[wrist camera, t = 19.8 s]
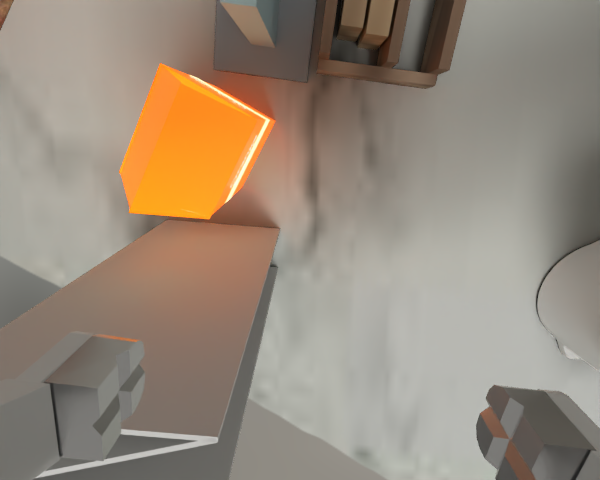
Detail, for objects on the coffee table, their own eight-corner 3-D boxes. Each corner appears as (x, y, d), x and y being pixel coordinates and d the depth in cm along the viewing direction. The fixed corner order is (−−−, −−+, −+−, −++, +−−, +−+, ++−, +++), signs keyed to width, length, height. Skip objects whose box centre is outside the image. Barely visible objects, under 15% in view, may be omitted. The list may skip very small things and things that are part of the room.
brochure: (168, 260, 44) (-86, 501, 16) (166, 219, 43) (-124, 408, 14) (277, 269, 44) (218, 527, 16) (280, 228, 43) (217, 437, 14)
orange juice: (183, 156, 40) (69, 184, 21) (214, 84, 38) (116, 42, 19) (243, 189, 41) (185, 243, 22) (277, 121, 39) (245, 117, 20)
